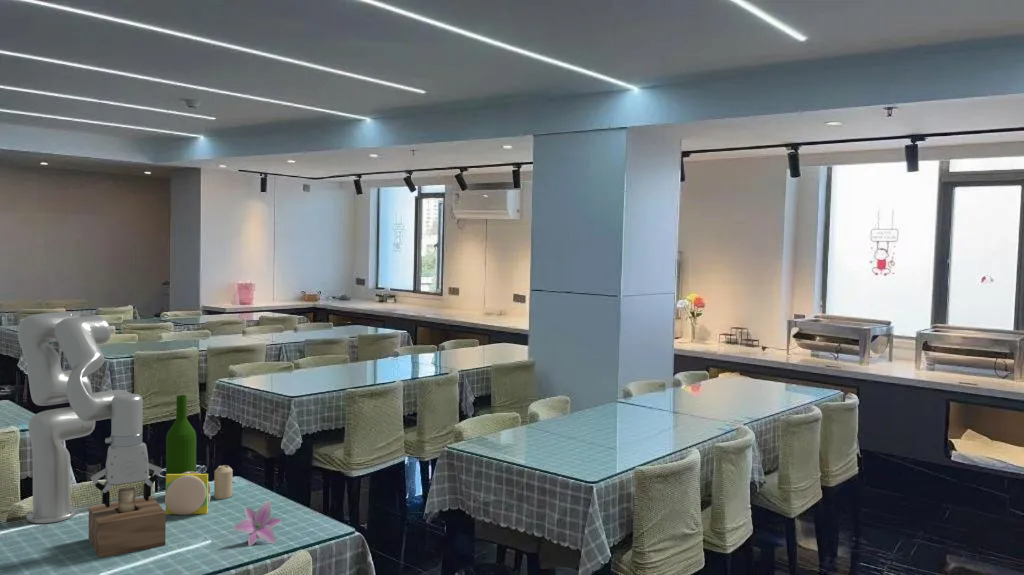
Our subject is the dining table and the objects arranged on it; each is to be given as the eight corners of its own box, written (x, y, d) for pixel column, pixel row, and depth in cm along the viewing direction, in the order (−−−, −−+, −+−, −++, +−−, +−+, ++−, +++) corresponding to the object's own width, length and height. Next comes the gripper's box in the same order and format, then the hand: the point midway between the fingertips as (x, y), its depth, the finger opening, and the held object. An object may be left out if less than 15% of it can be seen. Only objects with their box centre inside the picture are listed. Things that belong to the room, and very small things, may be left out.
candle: (226, 499, 244) (226, 469, 243) (210, 498, 245) (210, 467, 244) (235, 494, 249) (236, 464, 249) (220, 493, 250) (220, 463, 250)
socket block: (88, 538, 209) (88, 506, 208) (151, 527, 218) (152, 496, 218) (98, 558, 196) (98, 523, 196) (165, 545, 206) (165, 512, 205)
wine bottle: (202, 494, 249) (202, 395, 248) (179, 501, 241) (180, 399, 239) (182, 489, 253) (182, 392, 251) (159, 497, 245) (160, 396, 243)
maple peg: (116, 513, 207) (117, 488, 207) (133, 511, 210) (133, 486, 209) (119, 518, 204) (120, 492, 204) (136, 515, 206) (136, 490, 206)
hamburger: (212, 507, 237) (213, 468, 236) (204, 516, 228) (205, 476, 228) (172, 507, 236) (172, 469, 235) (163, 516, 227) (163, 476, 227)
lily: (225, 548, 207) (232, 523, 203) (241, 518, 218) (248, 493, 214) (268, 561, 208) (276, 536, 204) (282, 530, 219) (289, 506, 215)
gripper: (93, 447, 198) (93, 512, 199) (164, 439, 208) (164, 500, 209) (88, 441, 204) (88, 504, 204) (158, 433, 214) (157, 493, 215)
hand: (126, 502), depth 207 cm, fingers open, 9 cm apart
